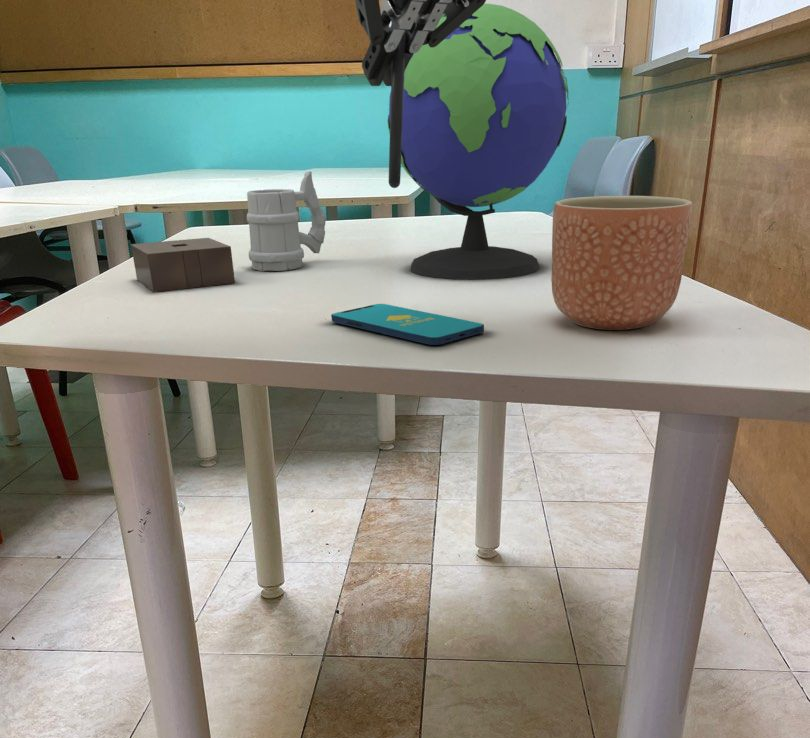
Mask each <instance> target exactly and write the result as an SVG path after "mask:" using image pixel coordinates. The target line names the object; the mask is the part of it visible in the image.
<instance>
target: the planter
mask: <svg viewBox="0 0 810 738" xmlns="http://www.w3.org/2000/svg"><path fill="white" fill-rule="evenodd" d="M692 217H693V202H692V201H691V200H689V199H684V198H679V197H669V196H654V195H598V196H597V195H596V196H581V197H570V198H564V199H561V200H557V201H555V202H554V206H553V212H552V231H551V292H552V298H553V301H554V304H555V306H556V307H557V309H558V310H559V311H560V312H561V314H562V315H564V317H565V318H567V320H569V321H570V322H572V323H573V324H575V325H578V326H581V327H585V328H588V329H595V330H605V331H623V330H624V331H625V330H627V331H628V330H635V329H641V328H645V327H648V326H650V325H652V324H654V323H655V322H657V321H658V320H660V319H662V317H664V316H665V314H667V313H668V312H669V311H670V310H671V308H672V307H673V306H674V303H675V302H676V299H677V298H678V295H679V290H680V286H681V283H682V277H683V269H684V264H685V259H686V258H685V257H686V254H687V249H688V242H689V237H690V230H691V225H692Z"/></svg>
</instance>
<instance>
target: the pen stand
mask: <svg viewBox="0 0 810 738" xmlns="http://www.w3.org/2000/svg"><path fill="white" fill-rule="evenodd" d="M130 248H131V254H132V258H133V265H134V269H135V276H136V277H135V278H136V280H137V281H138V282H139V283H141V284H142V285H143V286H145V288H147V289H148V290H150V291H152V292H153V293H158V292H159V293H160V292H168V291H177V290H185V289H186V290H187V289H196V288H205V287H216V286H223V285H231V284H232V285H234V284H236V279H235V272H234V271H235V270H234V263H233V261H234V260H233V254H232V247H231V245H228V244H225V243H224V242H220V241H218V240H215V239H213V238H211V237H200V238H187V239H177V240H176V239H175V240H165V241H153V242H143V243H142V242H140V243H131V244H130Z"/></svg>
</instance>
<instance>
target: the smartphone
mask: <svg viewBox="0 0 810 738" xmlns="http://www.w3.org/2000/svg"><path fill="white" fill-rule="evenodd" d="M330 317H331V322H332V323H336V324H340V325H344V326H348V327H352V328H356V329H362V330H365V331H370V332H374V333H378V334H382V335H387V336H391V337H395V338H398V339H399V338H400V339H404V340H409V341H413V342H417V343H421V344H425V345H429V346H438V345H444V344H447V343H450V342H451V343H452V342H454V341H457V340H461V339H465V338H469V337H472V336H476V335H479V334H482V333H484V332H485V324H484V323H481V322H478V321H472V320H467V319H462V318H457V317H452V316H447V315H443V314H437V313H433V312H427V311H422V310H418V309H412V308H407V307H401V306H397V305H391V304H388V303H374V304H370V305H366V306H361V307H356V308H353V309H348V310H344V311H338V312H334V313H332V314H331V315H330Z"/></svg>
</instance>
